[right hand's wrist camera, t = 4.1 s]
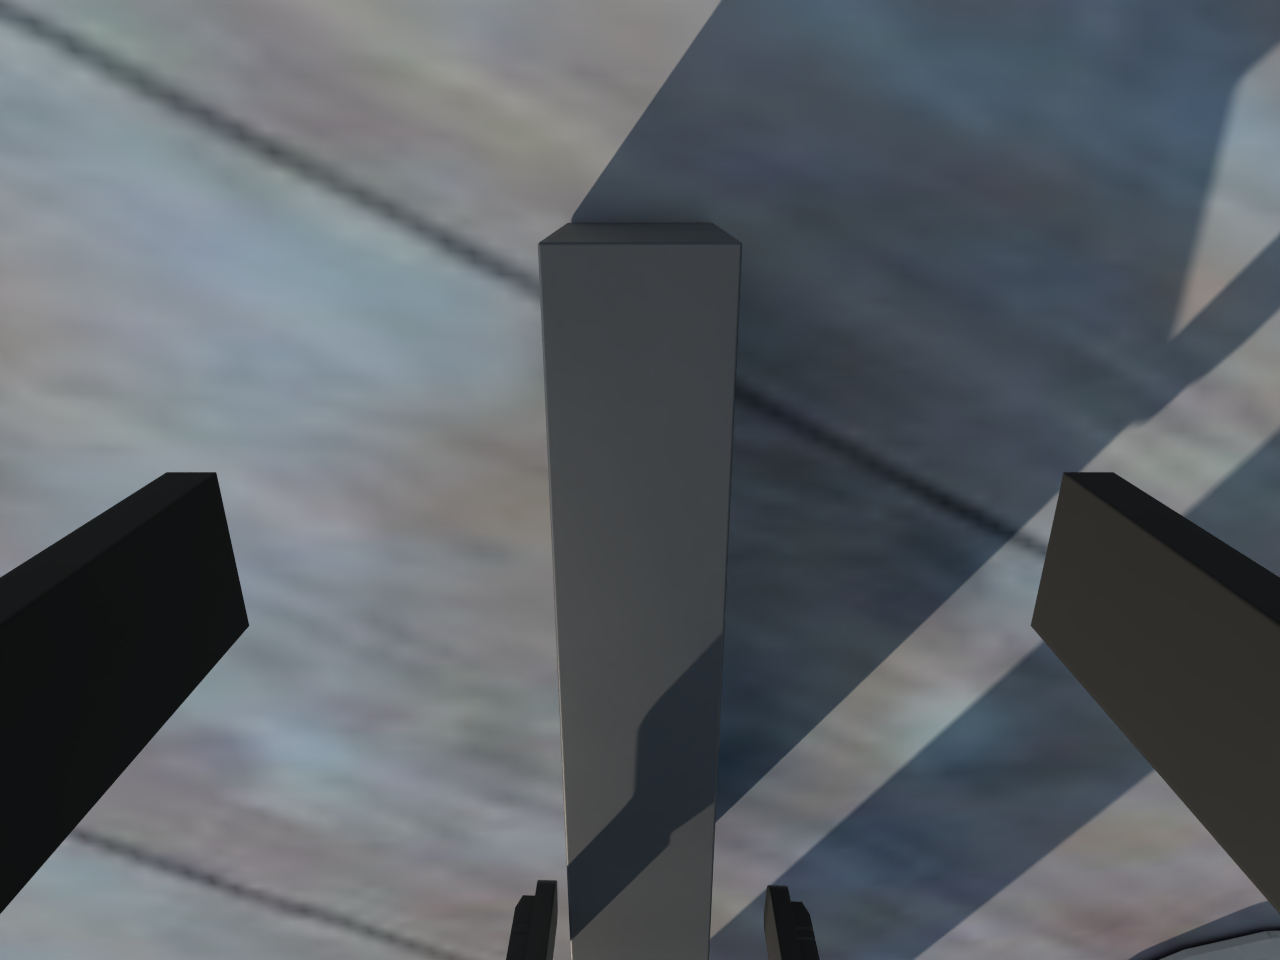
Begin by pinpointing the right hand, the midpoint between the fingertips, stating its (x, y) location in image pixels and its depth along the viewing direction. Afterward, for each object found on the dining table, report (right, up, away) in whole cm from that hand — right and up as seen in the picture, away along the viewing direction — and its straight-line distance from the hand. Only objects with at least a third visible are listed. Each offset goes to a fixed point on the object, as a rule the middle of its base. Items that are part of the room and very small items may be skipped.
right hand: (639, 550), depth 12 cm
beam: (0, -3, +19) cm, 19 cm away
